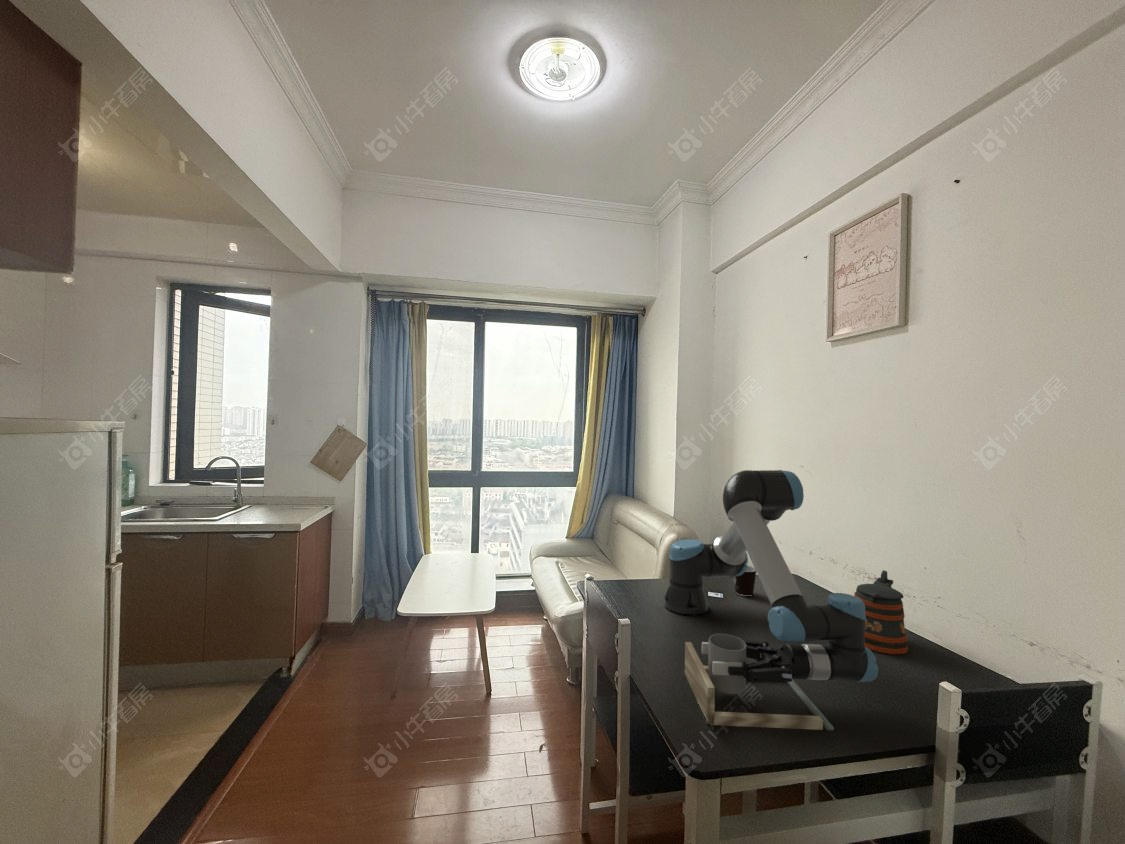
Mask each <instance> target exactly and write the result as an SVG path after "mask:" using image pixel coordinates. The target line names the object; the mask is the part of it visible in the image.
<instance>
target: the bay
mask: <svg viewBox="0 0 1125 844" xmlns="http://www.w3.org/2000/svg"><path fill="white" fill-rule="evenodd" d="M684 674H685V677H686V679H687V682H688V683H689V686H690V688H691V691H692V693H693V695H694V698H695V697H696V698H695V700H696V702H697V704H699V705H698V707H699V706H700V707H699V709H700V708H701V709H700V711H701V710H702V712H703V714H704V716H705V718H706V721H707V723H710V724H713V725H712V726H727V727H750V728H769V729H770V728H771V729H772V728H773V729H791V730H793V729H794V730H795V729H796V730H798V729H799V730H817V731H823V730H824V729H825V730H826V731H834V729H835V728H834V726H833V725H832V724H831V723H830V721H829V720H828V719H827V717H825V716H824V714H823V713H822V712H821V711H820V710H819V709H818V707H817V706H816V705H815V704H814V703H813V701H812V700H811V699H810V698H809V697H808V695H807V694H806V693H805V692H804V691H803V690H802V688H801V687H800V686H799V685H798V684H797V682H796V681H795V679H792V682H787V684H788V685H789V686H790V687H791V688H792V690H793V691H794V692H795V694H796V695H797V696H798V697H799V699H801V701H802V703H804V704H805V706H806V707H807V708H808V709H809V711H810V712H811V713H812V714H813V715H806V714H805V715H802V714H800V715H799V714H781V713H780V714H778V713H759V712H758V713H757V712H756V713H753V712H735V711H734V712H730V711H715V704H716V703H715V702H716V701H715V698H716V697H715V696H716V695H715V693H716V691H715V690H716V689H715V687H714V685H713V684H712V682H711V680H710V678H709V676H708V665H704V664H703V663H702V661H701V659H700V657H699V655H698V653H697V651H696V649H695V647H694V645H693V643H692V642H691V641H684ZM755 678H756V676H755ZM702 712H701V713H702ZM703 714H702V715H703ZM704 716H703V717H704ZM706 721H705V722H706ZM707 723H706V724H707Z"/></svg>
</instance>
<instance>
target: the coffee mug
mask: <svg viewBox="0 0 1125 844" xmlns="http://www.w3.org/2000/svg"><path fill="white" fill-rule="evenodd" d="M756 575H757V572H756V570H755V567H754V566H751V565H747V568H746V570H745V572H744V573H743V574H742V575H740V576H735V577H733V584H734V591H736V592H737V593H739V594H743V595H753V596H754V590H755V583H756V578H757V577H756Z"/></svg>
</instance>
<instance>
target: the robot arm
mask: <svg viewBox="0 0 1125 844" xmlns="http://www.w3.org/2000/svg"><path fill="white" fill-rule="evenodd" d="M804 498H805V496H804V487H803V485H802V482H801V479H800V478H799V476H798V475H796V474H795V472H794V471H791V470H783V469H777V470H776V469H775V470H772V469H771V470H766V469H764V470H747V469H746V470H741V471H739V472H736V473H735V474H733V475H732V476H730V478H729V479H728V480H727V481H726V483H725V485H724V488H723V493H722V504H723V509H724V511H725V514H726V516H727V518H728V520H729V521H731V522H732V523H731V524H730V526H729V527H728V529H727V530H726V531H725V533H724V534H722V535H719V536H717V537H716V538H715V539H714V540H713V542H711V543H704V542H703V541H701V540H699V539H695V538H694V539H691V538H690V539H689V538H686V539H680V540H677V541H674V542H673V543H672V544H671V545H670V547H669V555H668V557H669V573H668V575H669V578H668V579H669V581H668V583H669V584H668V586H667V590H666V592H665V595H664V599H663V605H665V606H666V607H667V608H668V609H670V610H672V611H674V612H673V613H675V612H677V613H676V614H678V613H682V614H681V615H683V614H701V613H704V612H706V611H707V612H708V610H709V609H708V599H707V597H706V596H707V595H706V594H705V591H704V582H703V581H704V579H707V578H734V577H735V576H740V575H742V574H743V573H744V572H745V570H746V568H747V566H748V564H749V563H748V562H749V558H750V561H751V563H752V565H753V568H755V570H756V575H757V576H758V578H759V581H760V583H761V585H762V587H763V589H764V592H765V594H766V596H767V598H768V600H769V603H770V605H771V608H770V610H769V611H768V614H767V621H768V627H769V630H770V632H771V634H772V636H774V638H775V639H777V640H778V641H779V642H784V644H783V645H782V646H781V648H779V649H778V648H774V647H770V643H769V642H768V641H754V640H746V639H742V640H743V641H744V642H745V644H746V659H753V660H756V661H754V662H750V663H747V661H746V662H743V667H742V663H741V662H720V661H712V673H713V675H732V676H743V677H744V678H746V679H748V682H749V683H751V684H756V683H758V684H759V683H771V682H786V683H788V682H792V679H793V680H810V681H811V680H812V681H813V680H814V681H816V682H817V681H832V682H833V681H836V682H838V681H839V682H851V683H861V682H862V683H867V682H874V680H875V679H877V677H878V675H879V674H878V673H879V666H878V665H877V658H876V656H875V654H874V653H873V651H871V650H870V649H868V648H867V647H865V620H866V616H865V605H864V603H863V601H862V600H861V599H859V598H857V597H855V596H854V595H853V594H848V593H843V592H834V593H830V594H829V595H828V596H827V601H826V602H827V604H812V605H810V604H809V605H808V604H807V601H806V600H805V598H804V595H803V594H802V592H801V590H800V589H799V586H798V584H797V583H796V580H795V578H794V576H793V574H792V572H791V570H790V568H789V566H788V565H787V562H786V561H785V559H784V556H783V555H782V552H781V551H780V549H779V547H778V545H777V543H776V540H775V539H774V537H773V534H772V533H771V531H770V528H769V526H768V524H769V523H770V521H772V522H773V521H777V520H779V519H780V518H781V517H782V516H783V515H784V514H785V513H786V511H789V510H790V511H795V510H799V508H801V507H802V505H803V503H804ZM748 556H749V558H748ZM665 606H664V607H665ZM666 607H665V608H666ZM667 608H666V609H667ZM668 609H667V610H668ZM670 610H669V611H670ZM672 611H671V612H672ZM707 612H706V613H707ZM704 614H705V613H704ZM701 615H702V614H701ZM812 641H827V644H816V643H802V642H812ZM800 643H801V644H800ZM701 654H702V655H709V641H707V642H705V641H702V642H701ZM755 676H756V678H755Z"/></svg>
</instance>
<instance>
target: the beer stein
mask: <svg viewBox="0 0 1125 844" xmlns="http://www.w3.org/2000/svg"><path fill="white" fill-rule="evenodd" d="M888 578H889V577H888V571H887V570H882V571H881V573H880V577H877V579H876V580H875V581H874V582H873V583H861V584H858V585H857V586H856V589H855V592H854V593H853V596H855V597H857V598H859V599H861V600H862V601H863V603H864V605H865V616H866V620H865V647H867V648H868V649H870V650H871V651H872V652H875V653H879V654H884V655H885V654H886V655H890V656H891V655H892V656H895V655H896V656H897V655H904V654H906V653H908V652H909V648H908V636H907V632H906V626H905V620H904V619H905V610H904V603H903V600H902V599H904V594H903V593H902V592H900V591H899V590H897V589H895V588H893V587H892V585H893V584H894V580H893V579H888Z"/></svg>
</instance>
